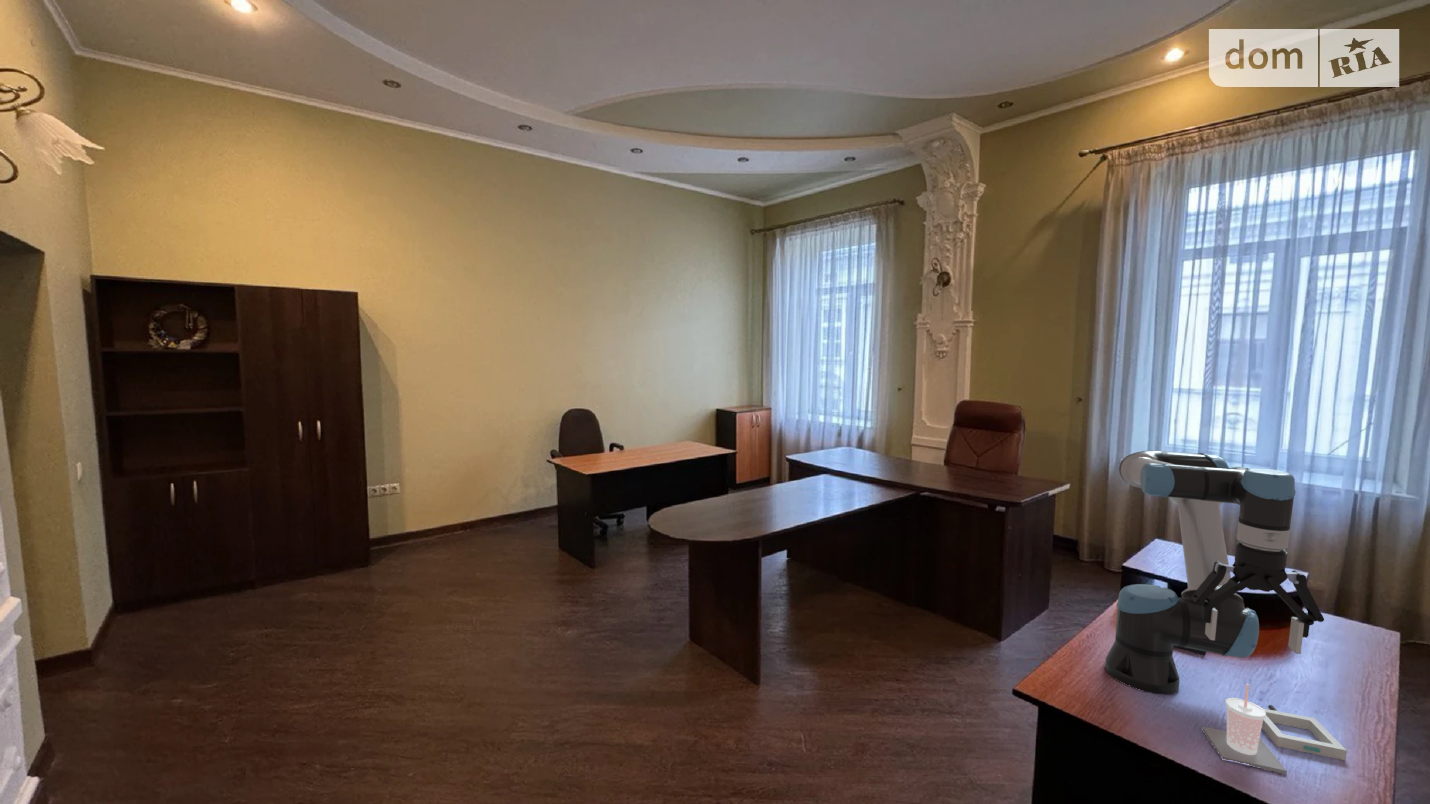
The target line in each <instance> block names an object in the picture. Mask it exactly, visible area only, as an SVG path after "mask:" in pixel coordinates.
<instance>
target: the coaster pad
mask: <svg viewBox="0 0 1430 804" xmlns="http://www.w3.org/2000/svg"><path fill="white" fill-rule="evenodd" d="M1202 729H1203V731H1204V732H1203V731H1202V732H1203V734H1204V733H1205V734H1206V735H1205V734H1204V735H1205V736H1207V737H1208V738H1207V737H1206V738H1207V740H1208V739H1209V740H1210V741H1209V740H1208V741H1209V743H1210V742H1211V743H1212V744H1213V746H1214V747H1215V749H1216V750H1217V751H1218V752H1219V754H1220V755H1221V756H1222V758H1223V759H1226V760H1233V761H1237V762H1240V763H1246V764H1249V765H1252V766H1255V767H1260V768H1263V769H1266V770H1265V771H1268V770H1270V771H1269V772H1272V771H1274V772H1273V773H1278V774H1281V773H1282V774H1283V775H1286V776H1287V772H1288V770H1287V769H1286V768H1285V766H1283V764H1282V763H1281V761H1279V759H1278V758H1277V757H1276V755H1275V754H1274V753H1273V751H1272V750H1271V749H1270V748H1269V746H1267V744H1266V743H1265V742H1264V741H1263V739H1262V738H1261V737H1260V738H1259V744H1258V749H1257V753H1256V754H1255V755H1247V754H1244V753H1241V752H1238V751H1236V750H1234V749H1233V748H1231V747H1230V746H1229V745H1228V744H1227V730H1223V729H1217V728H1212V727H1207V726H1204V725H1203V726H1201V730H1202ZM1211 743H1210V744H1211ZM1212 744H1211V745H1212ZM1213 746H1212V747H1213ZM1214 747H1213V748H1214ZM1215 749H1214V750H1215ZM1216 750H1215V751H1216ZM1263 769H1262V770H1263ZM1282 774H1281V775H1282Z"/></svg>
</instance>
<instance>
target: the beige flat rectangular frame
mask: <svg viewBox="0 0 1430 804" xmlns="http://www.w3.org/2000/svg"><path fill="white" fill-rule="evenodd" d="M1261 708H1262V709H1263V710H1264V711H1265V713H1266V715H1265V719H1263V723H1262V728H1261V730H1263V731H1264V733H1265V734H1266V735H1267V736H1268V738H1269V739H1270V740H1271V741H1272V742H1273V743H1274V745H1275V746H1276V747H1280V748H1283V749H1289V750H1293V751H1297V752H1303V753H1308V754H1312V755H1313V754H1314V755H1319V756H1322V757H1327V758H1331V759H1337V760H1342V761H1347V755H1348V754H1347V753H1348V750H1347V749H1346V748H1345V747H1344V745H1342V744H1341V743H1340V742H1339V741H1338V740H1337V739H1336V738H1335V737H1334V736H1333V735H1332V734H1331V733H1330V732H1329V731H1328V730H1327V729H1326V728H1325V727H1324V726H1323V725H1322V724H1321V723H1320V722H1319V721H1318V720H1317V719H1316V718H1315V717H1311V716H1305V715H1300V714H1295V713H1289V712H1284V711H1280V710H1279V711H1278V710H1277V708H1275V706H1273V705H1272V704H1268V706H1267V708H1263V707H1261ZM1275 724H1278V725H1284V726H1289V727H1293V728H1297V729H1303V730H1308V731H1310V733H1311V734H1312V735H1314V737H1315V738H1316V739H1317V740H1314V739H1309V738H1305V737H1299V736H1295V735H1288V734H1283V732H1282V731H1281V730H1280V729H1279V728H1278V727H1277V726H1276V725H1275Z"/></svg>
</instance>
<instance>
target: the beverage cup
mask: <svg viewBox="0 0 1430 804" xmlns="http://www.w3.org/2000/svg"><path fill="white" fill-rule="evenodd" d="M1249 689H1250V684H1249V683H1246V684H1245V691H1244V699H1241V698H1238V697H1229V698H1226V699H1225V706H1226V731H1227V744H1228V745H1229V746H1230V747H1231V748H1233V749H1234V750H1236V751H1238V752H1241V753H1244V754H1247V755H1255V754H1256V753H1257V749H1258V744H1259V738H1261V732H1262V723H1263V719H1265V715H1266V713H1265V711H1264V710H1263V709H1262V708H1263V707H1261V706H1259V705H1257V704H1256V703H1254V702H1251V701H1250V700H1248V699H1249Z"/></svg>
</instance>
